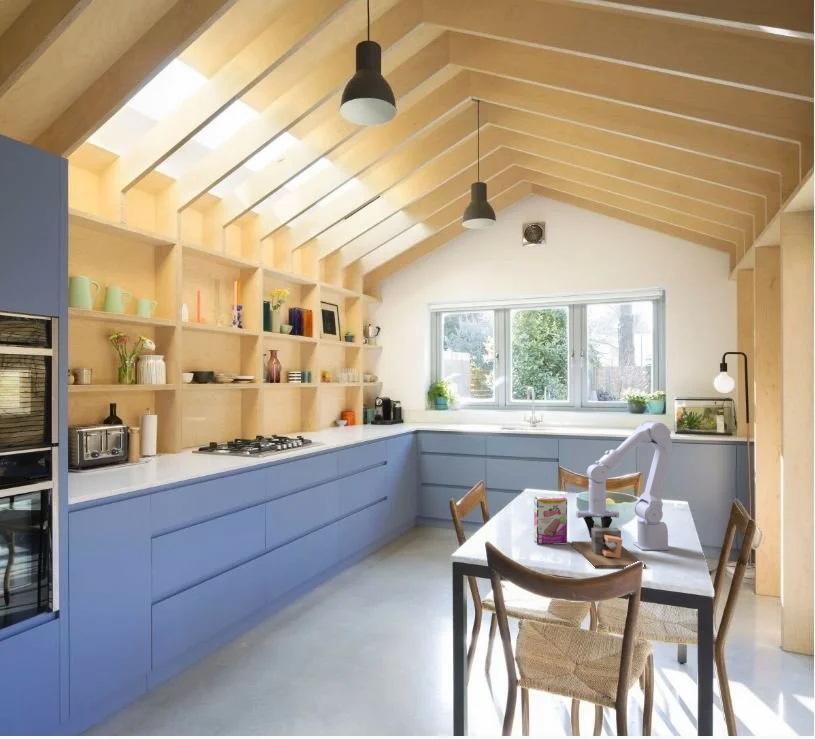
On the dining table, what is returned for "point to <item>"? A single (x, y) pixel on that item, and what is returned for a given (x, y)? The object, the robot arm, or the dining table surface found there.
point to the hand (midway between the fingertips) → (597, 538)
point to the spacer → (617, 551)
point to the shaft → (609, 543)
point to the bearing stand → (595, 546)
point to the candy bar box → (550, 520)
